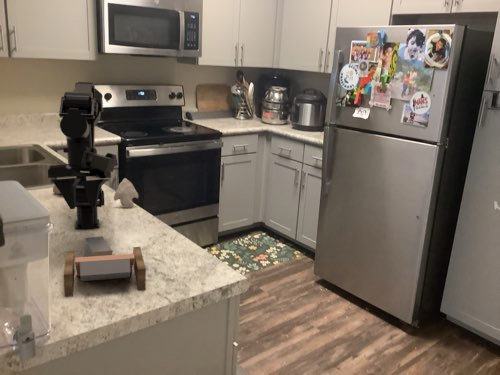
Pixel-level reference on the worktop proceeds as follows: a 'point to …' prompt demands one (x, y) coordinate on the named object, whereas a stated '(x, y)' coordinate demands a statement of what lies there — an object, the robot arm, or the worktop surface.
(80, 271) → the trapdoor
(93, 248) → the gray rectangular block
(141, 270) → the brown bracket
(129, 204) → the arrowhead
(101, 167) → the robot arm
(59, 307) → the worktop surface
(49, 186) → the worktop surface
